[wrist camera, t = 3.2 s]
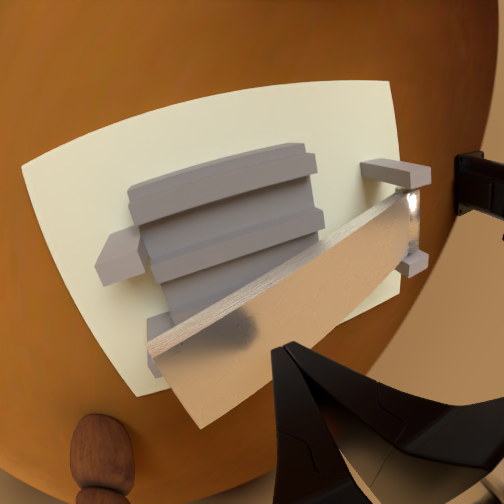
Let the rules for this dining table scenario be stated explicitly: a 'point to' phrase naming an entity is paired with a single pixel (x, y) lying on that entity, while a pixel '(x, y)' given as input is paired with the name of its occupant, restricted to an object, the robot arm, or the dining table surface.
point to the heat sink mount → (212, 203)
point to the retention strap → (283, 309)
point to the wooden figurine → (102, 461)
